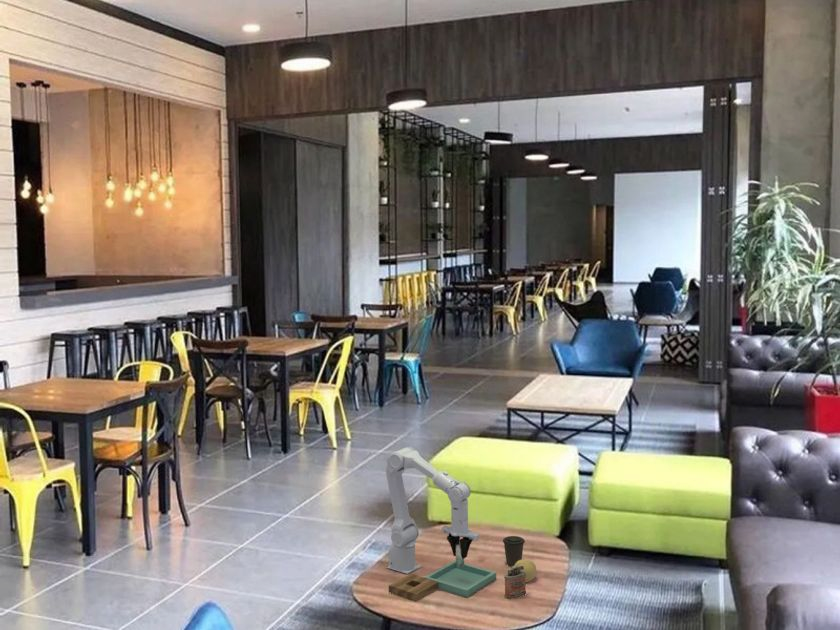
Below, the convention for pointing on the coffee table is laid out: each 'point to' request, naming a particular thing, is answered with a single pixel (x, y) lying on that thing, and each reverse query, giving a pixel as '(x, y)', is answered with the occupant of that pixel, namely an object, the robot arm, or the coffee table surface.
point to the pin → (459, 556)
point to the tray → (462, 579)
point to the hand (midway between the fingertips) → (460, 556)
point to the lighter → (515, 582)
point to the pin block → (413, 587)
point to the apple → (527, 568)
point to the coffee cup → (513, 549)
